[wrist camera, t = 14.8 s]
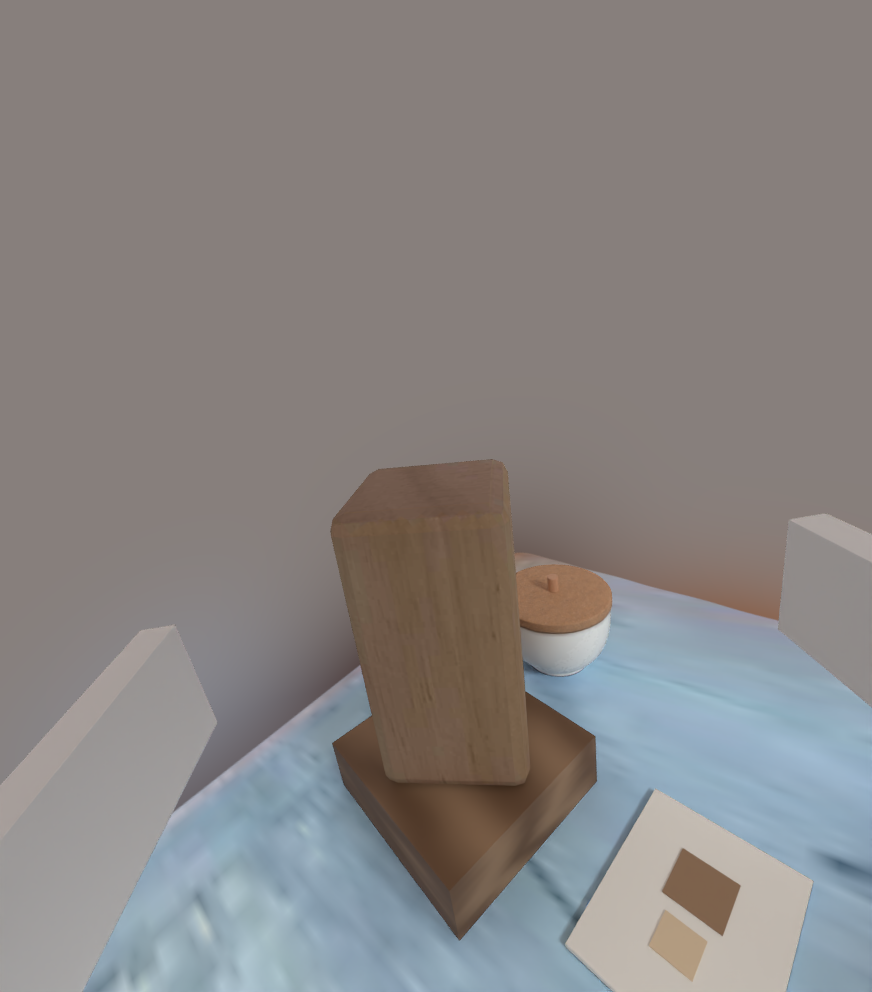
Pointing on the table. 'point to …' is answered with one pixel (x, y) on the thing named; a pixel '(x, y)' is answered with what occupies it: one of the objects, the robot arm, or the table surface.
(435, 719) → the wooden block
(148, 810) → the robot arm
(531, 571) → the lidded jar
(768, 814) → the table surface
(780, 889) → the page
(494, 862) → the base brick
